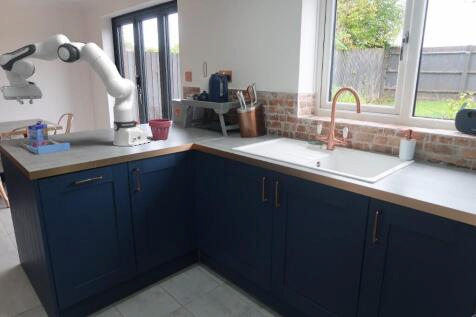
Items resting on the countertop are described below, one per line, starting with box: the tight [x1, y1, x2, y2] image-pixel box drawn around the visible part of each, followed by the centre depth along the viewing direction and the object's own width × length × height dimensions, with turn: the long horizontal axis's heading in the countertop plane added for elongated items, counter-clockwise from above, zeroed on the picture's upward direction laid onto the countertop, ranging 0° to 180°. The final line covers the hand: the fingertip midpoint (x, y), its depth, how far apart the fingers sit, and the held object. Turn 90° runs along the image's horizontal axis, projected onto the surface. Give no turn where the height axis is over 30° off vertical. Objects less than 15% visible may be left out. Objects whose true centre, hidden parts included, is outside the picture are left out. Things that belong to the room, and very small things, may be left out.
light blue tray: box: [19, 139, 71, 155], centre depth 187 cm, size 16×31×4 cm, turn 47°
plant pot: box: [148, 118, 172, 141], centre depth 215 cm, size 14×14×13 cm
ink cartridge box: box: [27, 120, 50, 148], centre depth 191 cm, size 10×6×14 cm, turn 177°
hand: (26, 103), depth 197 cm, fingers open, 3 cm apart
